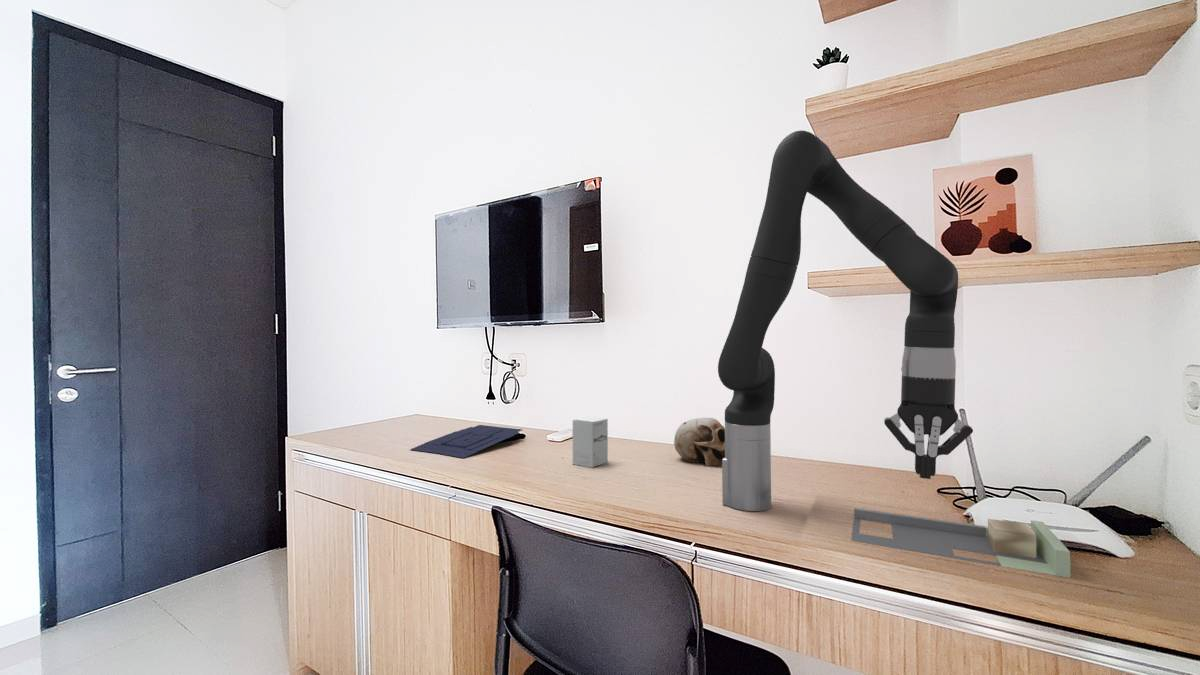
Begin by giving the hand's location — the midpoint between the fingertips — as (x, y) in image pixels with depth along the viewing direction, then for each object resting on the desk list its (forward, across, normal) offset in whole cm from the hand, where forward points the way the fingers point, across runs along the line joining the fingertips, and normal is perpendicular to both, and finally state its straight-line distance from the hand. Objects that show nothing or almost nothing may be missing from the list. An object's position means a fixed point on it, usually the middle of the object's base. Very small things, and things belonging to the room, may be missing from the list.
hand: (925, 477), depth 84 cm
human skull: (+14, -48, +40) cm, 64 cm away
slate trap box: (+11, +3, -2) cm, 12 cm away
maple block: (+9, +12, 0) cm, 15 cm away
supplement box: (+14, -77, +22) cm, 82 cm away
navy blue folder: (+16, -125, +25) cm, 129 cm away
